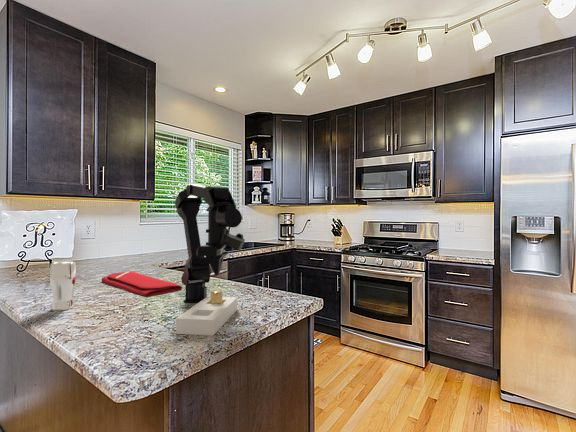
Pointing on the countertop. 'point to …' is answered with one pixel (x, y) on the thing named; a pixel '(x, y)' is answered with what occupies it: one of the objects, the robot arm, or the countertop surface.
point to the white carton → (62, 284)
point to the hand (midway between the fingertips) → (217, 274)
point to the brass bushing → (216, 297)
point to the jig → (206, 317)
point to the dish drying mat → (140, 283)
